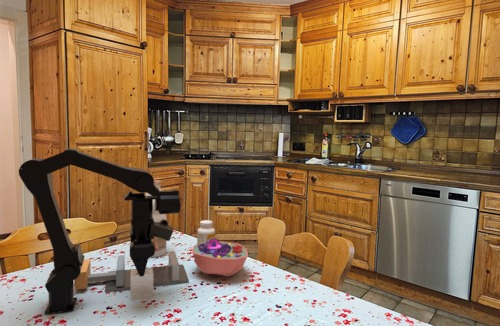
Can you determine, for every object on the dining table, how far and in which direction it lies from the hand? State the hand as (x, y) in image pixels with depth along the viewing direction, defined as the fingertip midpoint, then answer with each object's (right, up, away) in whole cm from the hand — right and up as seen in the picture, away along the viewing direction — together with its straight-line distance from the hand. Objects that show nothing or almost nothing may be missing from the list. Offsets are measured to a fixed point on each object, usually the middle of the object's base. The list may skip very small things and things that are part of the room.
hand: (141, 269), depth 93 cm
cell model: (+20, -7, +17) cm, 28 cm away
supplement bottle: (+14, -5, +34) cm, 37 cm away
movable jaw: (-15, -5, +7) cm, 17 cm away
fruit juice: (-6, -5, +33) cm, 34 cm away
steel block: (0, -8, +1) cm, 8 cm away
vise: (-2, -7, +12) cm, 14 cm away
